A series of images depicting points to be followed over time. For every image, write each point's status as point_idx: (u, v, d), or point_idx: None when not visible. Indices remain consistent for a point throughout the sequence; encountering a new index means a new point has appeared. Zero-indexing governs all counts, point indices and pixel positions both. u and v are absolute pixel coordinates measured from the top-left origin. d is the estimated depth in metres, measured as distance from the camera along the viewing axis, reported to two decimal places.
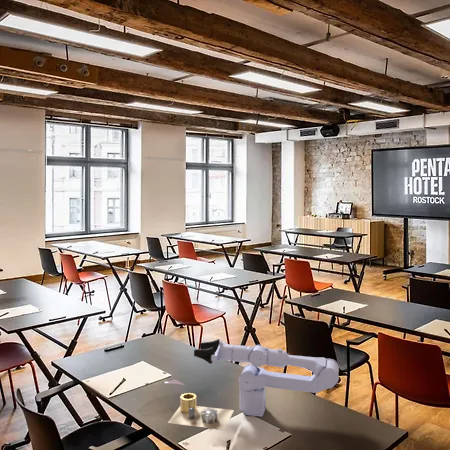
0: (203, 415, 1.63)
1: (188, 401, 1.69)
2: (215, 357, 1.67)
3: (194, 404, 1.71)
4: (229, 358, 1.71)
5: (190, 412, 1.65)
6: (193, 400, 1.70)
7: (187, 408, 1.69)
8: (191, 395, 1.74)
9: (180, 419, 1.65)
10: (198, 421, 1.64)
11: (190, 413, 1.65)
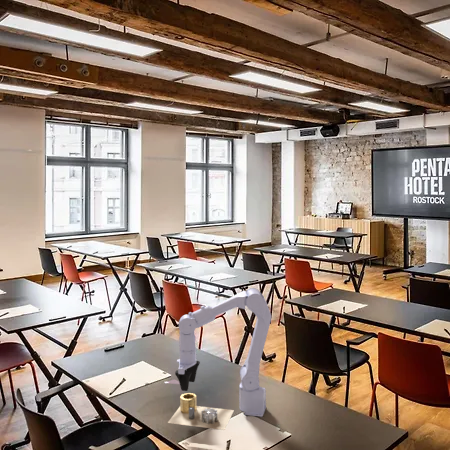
0: (203, 415, 1.63)
1: (188, 401, 1.69)
2: (179, 369, 1.64)
3: (194, 404, 1.71)
4: (188, 354, 1.68)
5: (190, 412, 1.65)
6: (193, 400, 1.70)
7: (187, 408, 1.69)
8: (191, 395, 1.74)
9: (180, 419, 1.65)
10: (198, 421, 1.64)
11: (190, 413, 1.65)
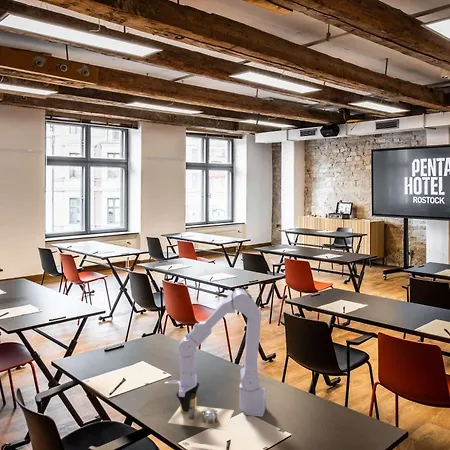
0: (203, 415, 1.63)
1: None
2: (180, 392, 1.65)
3: (194, 404, 1.71)
4: (189, 376, 1.68)
5: (190, 412, 1.65)
6: (193, 400, 1.70)
7: None
8: None
9: (180, 419, 1.65)
10: (198, 421, 1.64)
11: (190, 413, 1.65)
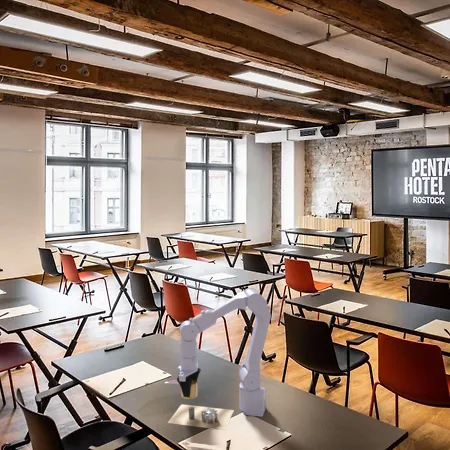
0: (203, 415, 1.63)
1: None
2: (180, 376, 1.62)
3: (195, 390, 1.68)
4: (189, 360, 1.65)
5: (190, 412, 1.65)
6: (194, 385, 1.67)
7: None
8: None
9: (180, 419, 1.65)
10: (198, 421, 1.64)
11: (190, 413, 1.65)
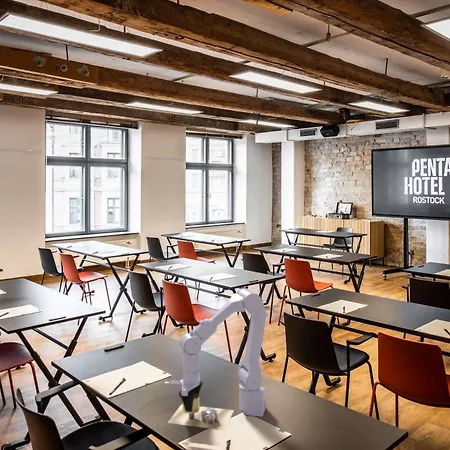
0: (203, 415, 1.63)
1: None
2: (183, 391, 1.58)
3: (197, 404, 1.64)
4: (192, 374, 1.62)
5: None
6: (196, 400, 1.64)
7: None
8: None
9: (180, 419, 1.65)
10: (198, 421, 1.64)
11: None
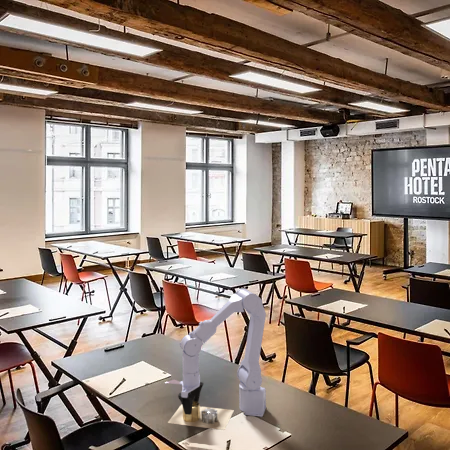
0: (203, 415, 1.63)
1: None
2: (183, 393, 1.58)
3: (197, 412, 1.64)
4: (192, 376, 1.62)
5: None
6: (196, 408, 1.64)
7: (190, 416, 1.63)
8: (194, 403, 1.68)
9: (180, 419, 1.65)
10: (198, 421, 1.64)
11: None
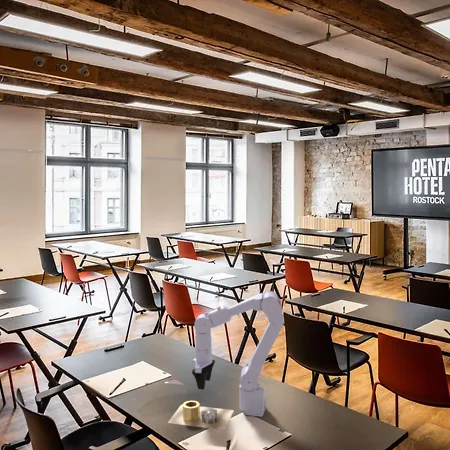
0: (203, 415, 1.63)
1: (191, 409, 1.63)
2: (196, 368, 1.66)
3: (197, 412, 1.64)
4: (204, 353, 1.70)
5: None
6: (196, 408, 1.64)
7: (190, 416, 1.63)
8: (194, 403, 1.68)
9: (180, 419, 1.65)
10: (198, 421, 1.64)
11: None
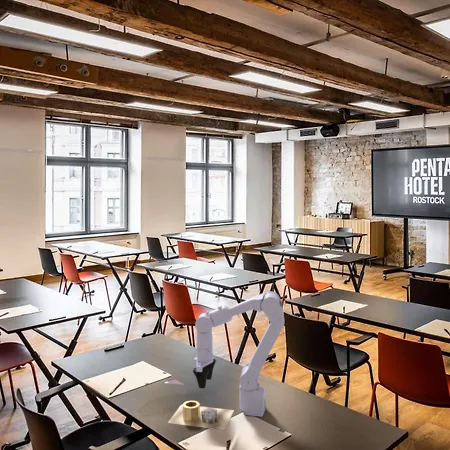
0: (203, 415, 1.63)
1: (191, 409, 1.63)
2: (197, 367, 1.67)
3: (197, 412, 1.64)
4: (205, 352, 1.71)
5: None
6: (196, 408, 1.64)
7: (190, 416, 1.63)
8: (194, 403, 1.68)
9: (180, 419, 1.65)
10: (198, 421, 1.64)
11: None
